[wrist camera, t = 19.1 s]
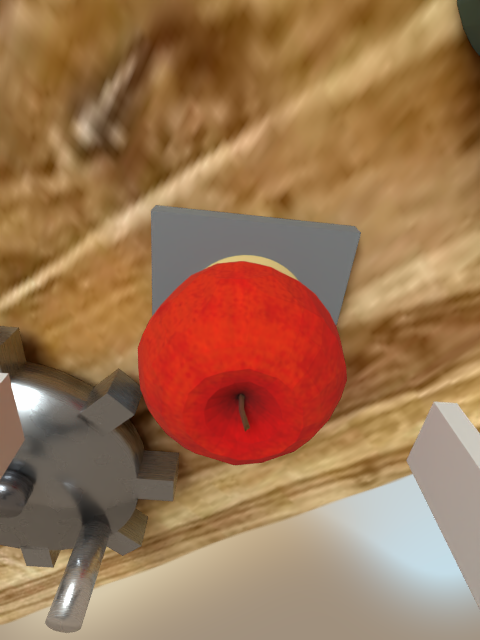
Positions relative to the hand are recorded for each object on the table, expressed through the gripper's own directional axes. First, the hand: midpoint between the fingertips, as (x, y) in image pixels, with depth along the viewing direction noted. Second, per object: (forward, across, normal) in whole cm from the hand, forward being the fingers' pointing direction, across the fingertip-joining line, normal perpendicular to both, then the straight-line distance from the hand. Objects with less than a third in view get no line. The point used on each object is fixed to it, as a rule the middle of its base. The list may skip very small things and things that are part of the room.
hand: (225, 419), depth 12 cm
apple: (+7, +1, 0) cm, 7 cm away
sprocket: (+8, -11, -11) cm, 18 cm away
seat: (+8, +1, 0) cm, 8 cm away
